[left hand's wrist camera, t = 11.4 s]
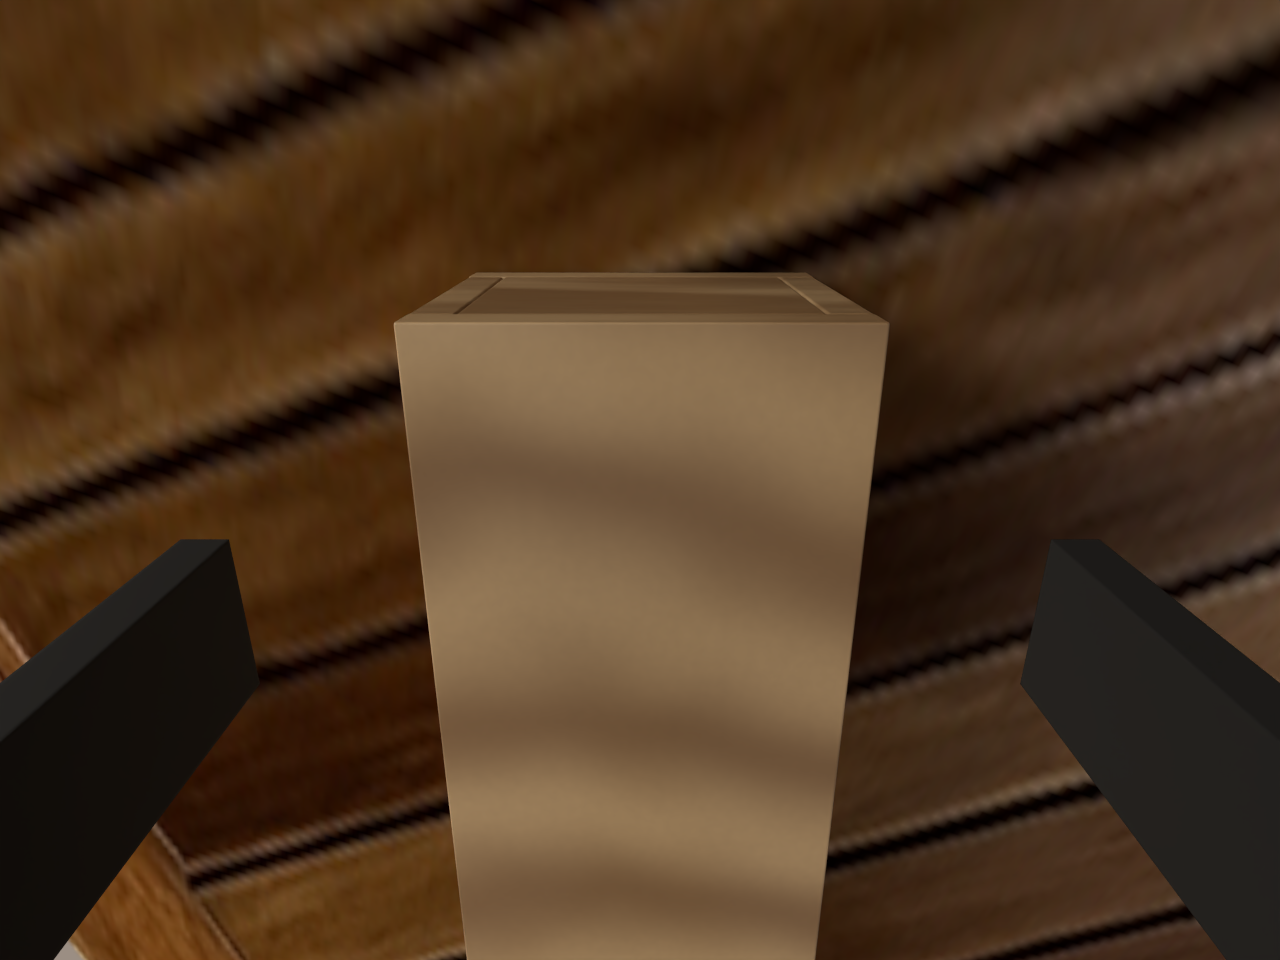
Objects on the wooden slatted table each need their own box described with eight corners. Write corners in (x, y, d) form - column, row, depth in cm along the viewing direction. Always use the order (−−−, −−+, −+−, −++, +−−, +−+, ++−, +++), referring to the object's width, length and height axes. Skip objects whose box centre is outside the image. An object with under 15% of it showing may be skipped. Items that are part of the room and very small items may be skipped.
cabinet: (765, 816, 32) (806, 1032, 24) (516, 816, 32) (474, 1031, 24) (807, 272, 24) (891, 322, 16) (475, 272, 24) (392, 322, 16)
